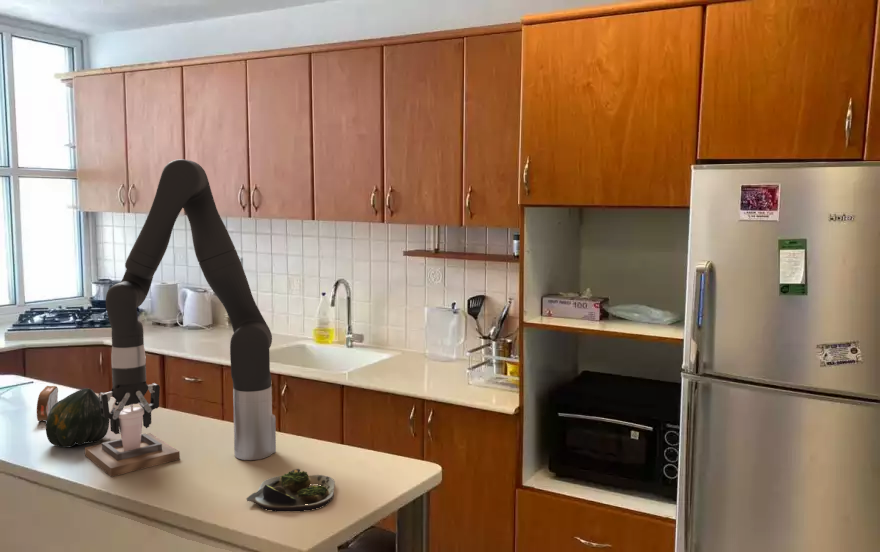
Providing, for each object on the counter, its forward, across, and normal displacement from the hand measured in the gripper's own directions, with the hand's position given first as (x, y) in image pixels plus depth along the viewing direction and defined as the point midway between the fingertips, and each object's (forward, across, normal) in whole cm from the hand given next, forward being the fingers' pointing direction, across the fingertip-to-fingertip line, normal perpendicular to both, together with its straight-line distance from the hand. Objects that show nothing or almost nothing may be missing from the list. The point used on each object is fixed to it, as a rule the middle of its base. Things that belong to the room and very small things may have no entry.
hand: (131, 429), depth 169 cm
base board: (+7, 0, 0) cm, 7 cm away
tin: (+7, +6, -48) cm, 49 cm away
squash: (+7, +6, -20) cm, 22 cm away
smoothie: (+5, 0, 0) cm, 5 cm away
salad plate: (+8, -17, +46) cm, 50 cm away
